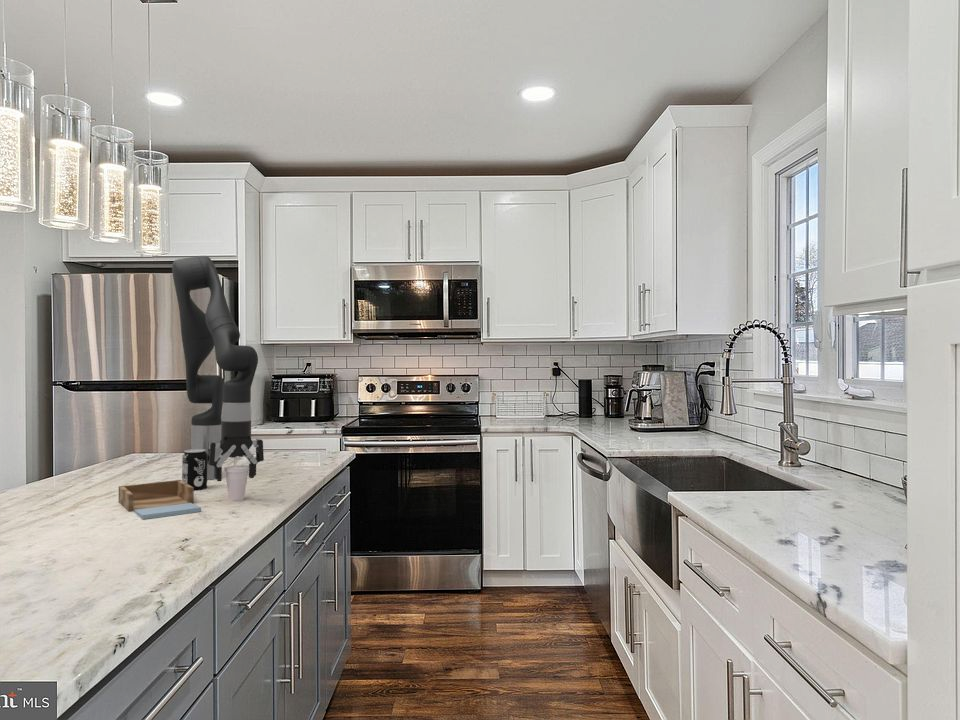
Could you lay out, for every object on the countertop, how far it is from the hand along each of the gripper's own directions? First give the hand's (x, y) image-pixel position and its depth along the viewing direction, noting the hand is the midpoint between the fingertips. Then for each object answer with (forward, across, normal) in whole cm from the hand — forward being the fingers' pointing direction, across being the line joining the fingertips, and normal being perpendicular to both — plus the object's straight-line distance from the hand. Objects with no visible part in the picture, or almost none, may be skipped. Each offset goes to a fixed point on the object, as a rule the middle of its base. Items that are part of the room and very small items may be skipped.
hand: (235, 479), depth 168 cm
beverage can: (+6, -5, +21) cm, 23 cm away
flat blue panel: (+6, -18, +1) cm, 18 cm away
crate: (+6, -18, +8) cm, 20 cm away
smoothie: (+6, 0, 0) cm, 7 cm away
